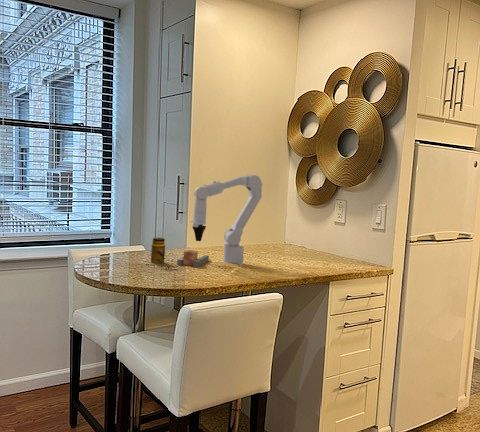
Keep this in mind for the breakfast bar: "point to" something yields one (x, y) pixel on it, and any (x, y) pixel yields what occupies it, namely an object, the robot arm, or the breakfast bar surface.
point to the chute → (196, 262)
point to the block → (189, 257)
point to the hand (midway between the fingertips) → (198, 240)
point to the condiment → (158, 251)
